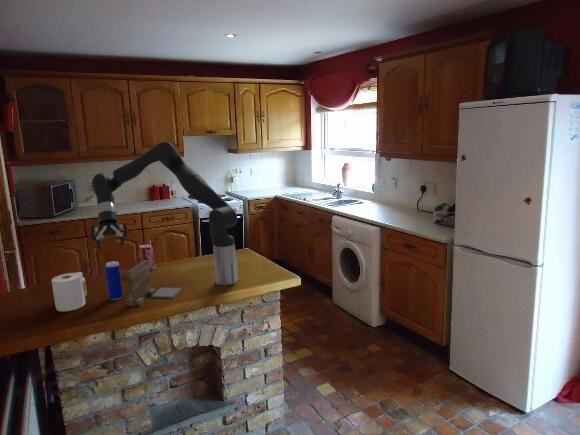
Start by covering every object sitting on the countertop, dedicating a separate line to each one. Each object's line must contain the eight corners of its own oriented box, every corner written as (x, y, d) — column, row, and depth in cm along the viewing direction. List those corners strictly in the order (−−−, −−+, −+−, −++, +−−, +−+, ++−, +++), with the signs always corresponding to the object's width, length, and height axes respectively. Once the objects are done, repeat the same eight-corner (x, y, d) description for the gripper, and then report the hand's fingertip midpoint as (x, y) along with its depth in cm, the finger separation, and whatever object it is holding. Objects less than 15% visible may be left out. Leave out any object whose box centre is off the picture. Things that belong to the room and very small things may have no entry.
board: (156, 292, 178) (153, 260, 175) (140, 306, 164) (136, 271, 161) (143, 292, 179) (139, 260, 176) (125, 305, 165) (121, 271, 162)
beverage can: (126, 296, 174) (121, 261, 171) (116, 301, 170) (111, 265, 167) (116, 294, 177) (112, 260, 173) (106, 299, 172) (102, 264, 169)
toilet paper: (50, 308, 165) (45, 279, 162) (75, 299, 174) (71, 271, 171) (66, 313, 160) (61, 283, 157) (91, 303, 169) (87, 274, 166)
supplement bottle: (90, 294, 179) (87, 272, 176) (80, 299, 174) (76, 276, 172) (80, 292, 180) (76, 271, 178) (69, 297, 175) (66, 275, 173)
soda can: (158, 267, 211) (155, 243, 208) (152, 271, 204) (149, 247, 201) (144, 267, 211) (141, 243, 209) (138, 271, 205) (135, 247, 202)
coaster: (181, 289, 180) (181, 288, 180) (172, 298, 171) (172, 296, 171) (161, 289, 181) (161, 287, 181) (151, 297, 172) (151, 295, 172)
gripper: (125, 216, 192) (129, 248, 184) (90, 220, 186) (93, 253, 179) (124, 208, 185) (128, 240, 178) (88, 211, 180) (91, 245, 173)
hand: (111, 247), depth 179 cm, fingers open, 8 cm apart
